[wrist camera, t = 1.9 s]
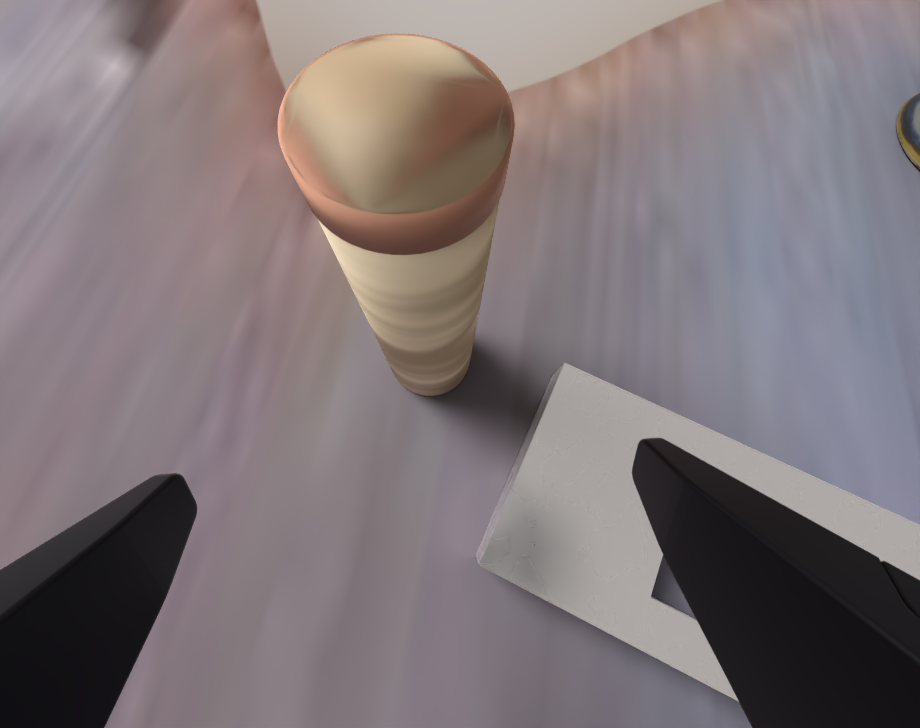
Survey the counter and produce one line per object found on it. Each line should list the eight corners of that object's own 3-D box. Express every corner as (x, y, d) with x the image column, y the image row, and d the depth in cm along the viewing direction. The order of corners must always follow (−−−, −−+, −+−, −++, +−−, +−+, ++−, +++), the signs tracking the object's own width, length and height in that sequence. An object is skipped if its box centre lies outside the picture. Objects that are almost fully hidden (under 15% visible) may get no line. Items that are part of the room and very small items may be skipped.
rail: (893, 773, 17) (965, 820, 15) (475, 555, 19) (479, 565, 17) (919, 545, 20) (984, 554, 17) (551, 375, 22) (564, 362, 19)
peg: (448, 410, 21) (451, 255, 7) (374, 374, 22) (228, 157, 7) (484, 340, 22) (549, 81, 8) (413, 307, 23) (354, 6, 8)
